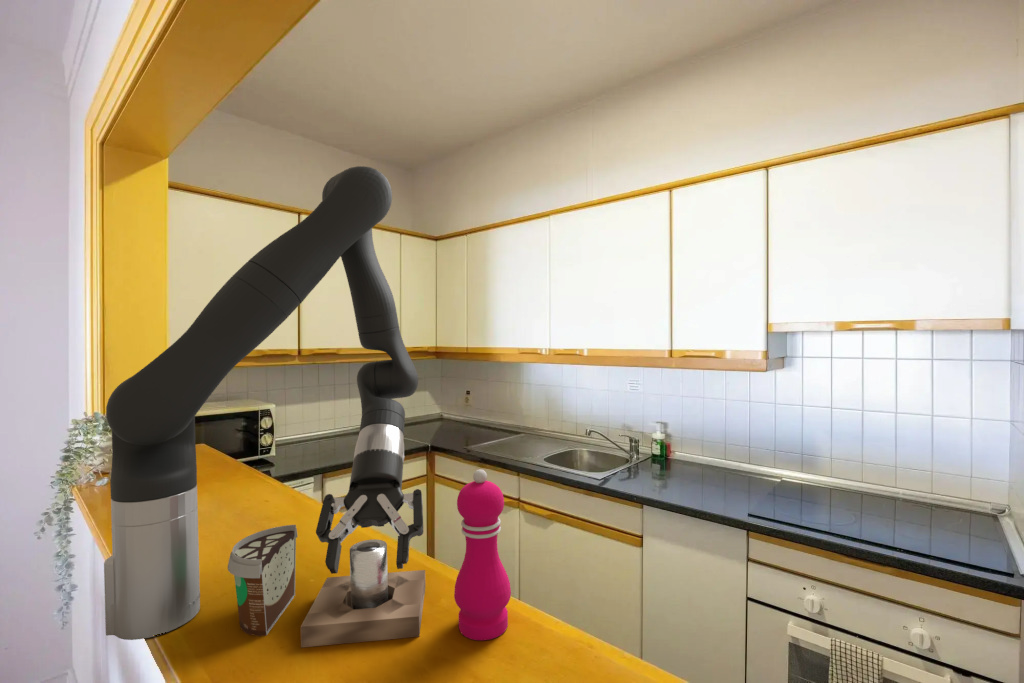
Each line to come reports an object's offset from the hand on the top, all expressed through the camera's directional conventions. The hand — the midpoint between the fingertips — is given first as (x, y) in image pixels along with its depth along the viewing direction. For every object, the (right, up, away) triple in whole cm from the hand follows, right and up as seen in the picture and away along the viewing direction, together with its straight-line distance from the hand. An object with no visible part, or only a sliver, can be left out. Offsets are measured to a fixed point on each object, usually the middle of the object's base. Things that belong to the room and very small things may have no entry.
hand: (366, 569), depth 63 cm
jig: (0, -7, +1) cm, 7 cm away
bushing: (0, -7, +1) cm, 7 cm away
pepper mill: (+16, -7, -2) cm, 17 cm away
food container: (-15, -7, +2) cm, 17 cm away
